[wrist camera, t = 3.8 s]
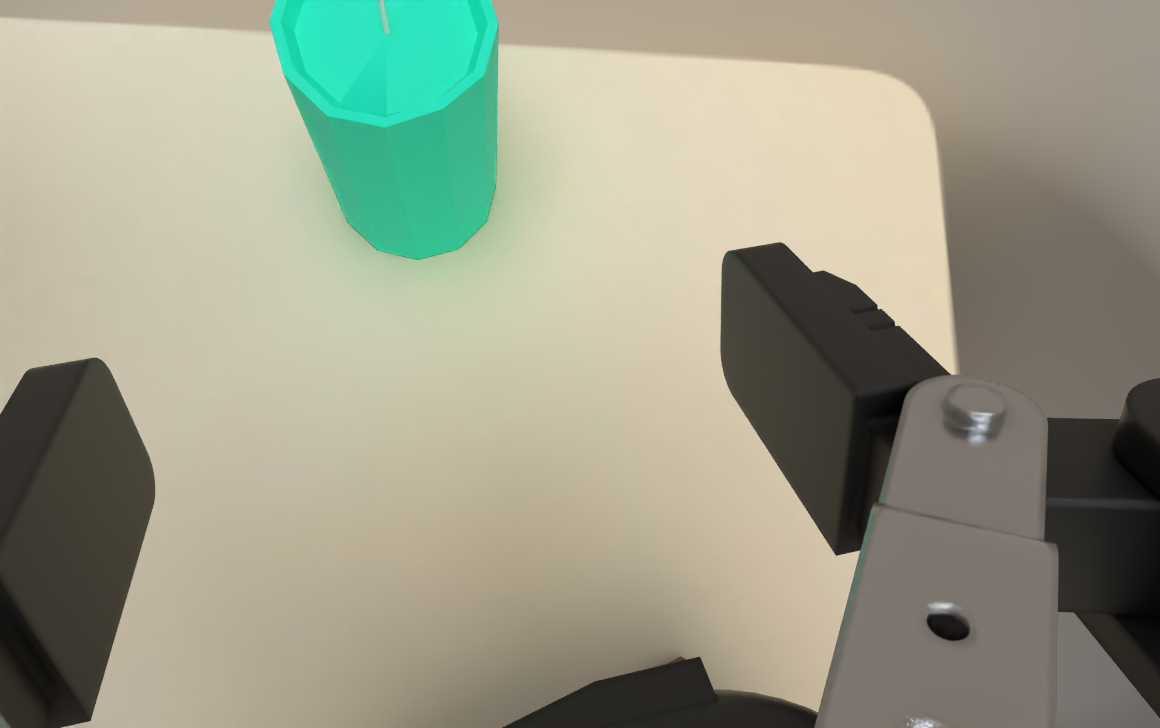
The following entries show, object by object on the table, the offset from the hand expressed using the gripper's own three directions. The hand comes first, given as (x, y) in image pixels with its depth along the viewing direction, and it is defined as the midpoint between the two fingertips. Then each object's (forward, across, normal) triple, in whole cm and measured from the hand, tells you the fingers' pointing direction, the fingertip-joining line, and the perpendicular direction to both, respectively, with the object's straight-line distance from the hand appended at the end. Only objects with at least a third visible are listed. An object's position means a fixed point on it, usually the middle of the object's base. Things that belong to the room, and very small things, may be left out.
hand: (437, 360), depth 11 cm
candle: (+22, 0, +6) cm, 23 cm away
